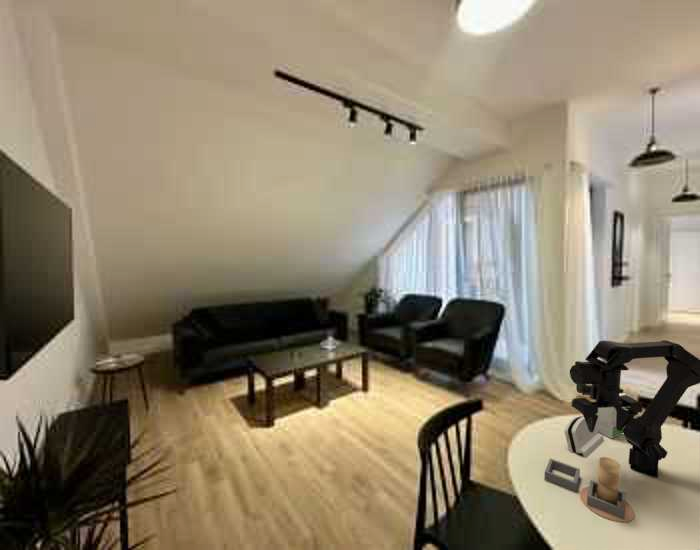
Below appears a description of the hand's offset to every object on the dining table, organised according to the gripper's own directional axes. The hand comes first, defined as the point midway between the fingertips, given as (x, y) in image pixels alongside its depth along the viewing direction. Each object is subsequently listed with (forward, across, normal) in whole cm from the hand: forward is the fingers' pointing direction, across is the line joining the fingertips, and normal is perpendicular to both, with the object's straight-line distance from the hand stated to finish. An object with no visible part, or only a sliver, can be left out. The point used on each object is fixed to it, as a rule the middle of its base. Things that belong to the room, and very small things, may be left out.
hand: (604, 431), depth 104 cm
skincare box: (+13, -19, -19) cm, 30 cm away
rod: (+13, +10, +13) cm, 21 cm away
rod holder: (+13, +15, +2) cm, 20 cm away
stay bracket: (+13, +10, +13) cm, 21 cm away
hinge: (+13, -4, -13) cm, 19 cm away
